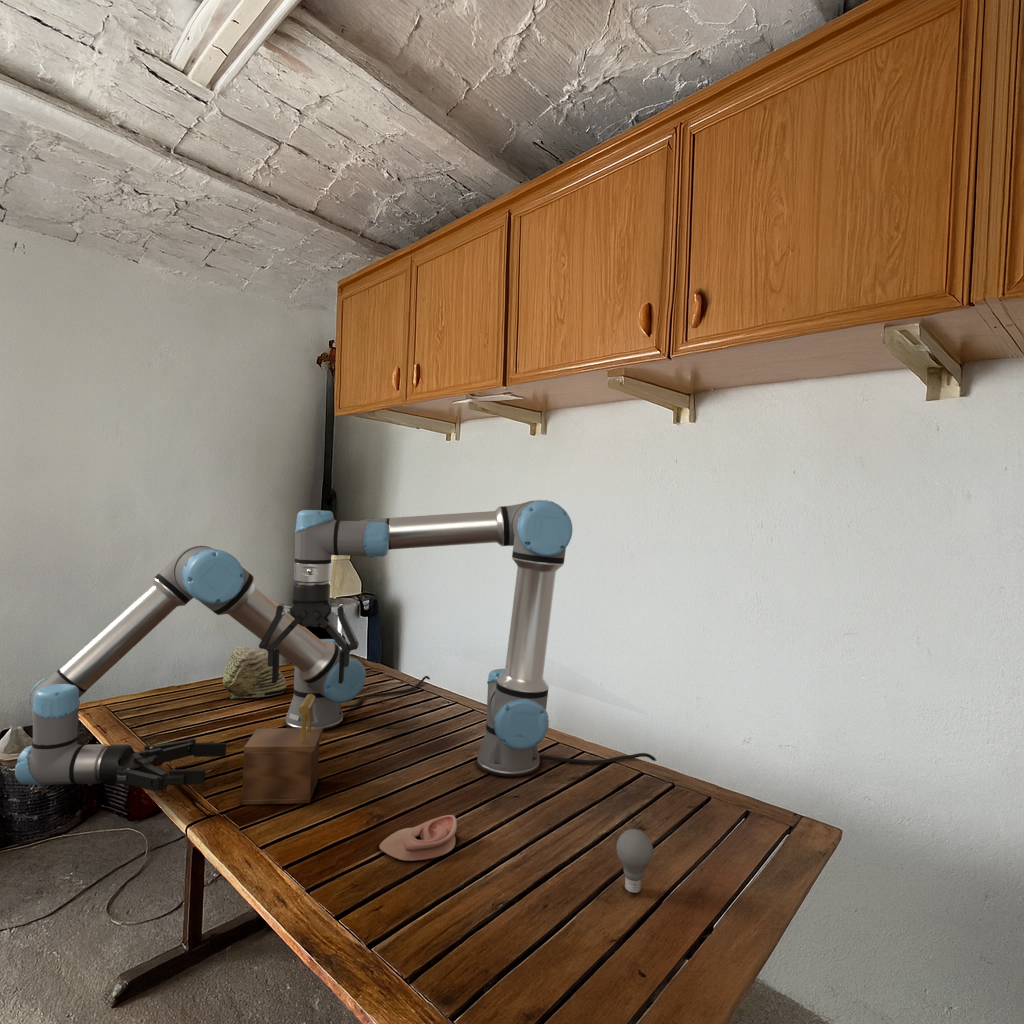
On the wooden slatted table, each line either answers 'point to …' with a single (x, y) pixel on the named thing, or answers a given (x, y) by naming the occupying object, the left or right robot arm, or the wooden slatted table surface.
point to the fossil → (251, 675)
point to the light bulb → (634, 857)
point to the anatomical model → (422, 840)
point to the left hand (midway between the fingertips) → (215, 762)
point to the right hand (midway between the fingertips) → (308, 681)
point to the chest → (279, 777)
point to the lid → (287, 735)
